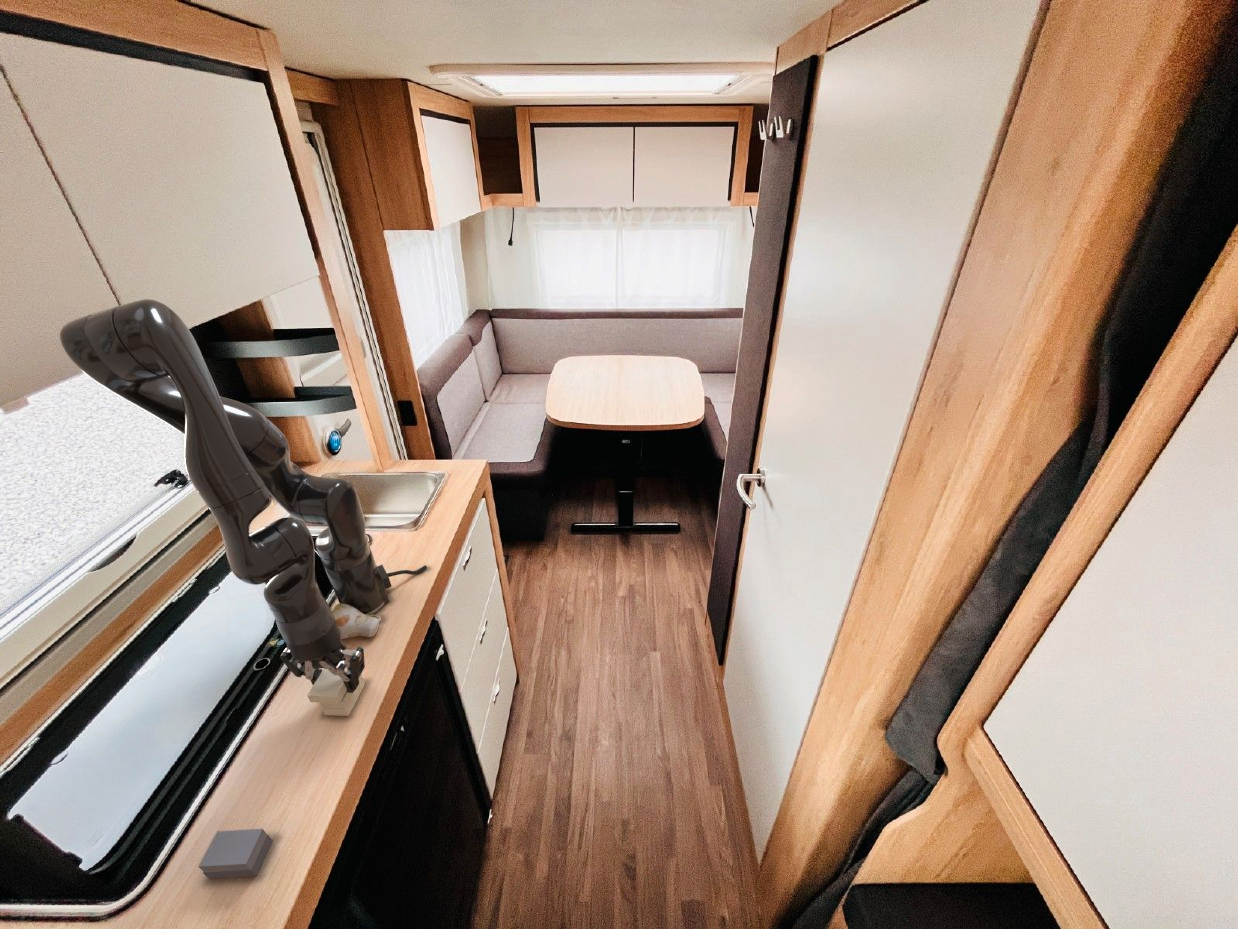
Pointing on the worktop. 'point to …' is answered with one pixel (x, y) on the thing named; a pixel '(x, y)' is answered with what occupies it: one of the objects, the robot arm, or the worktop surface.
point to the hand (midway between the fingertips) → (338, 687)
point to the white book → (327, 688)
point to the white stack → (344, 702)
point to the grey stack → (235, 854)
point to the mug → (355, 621)
